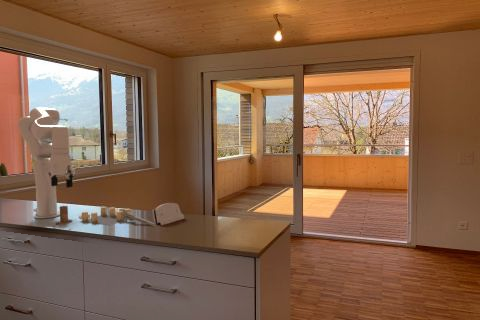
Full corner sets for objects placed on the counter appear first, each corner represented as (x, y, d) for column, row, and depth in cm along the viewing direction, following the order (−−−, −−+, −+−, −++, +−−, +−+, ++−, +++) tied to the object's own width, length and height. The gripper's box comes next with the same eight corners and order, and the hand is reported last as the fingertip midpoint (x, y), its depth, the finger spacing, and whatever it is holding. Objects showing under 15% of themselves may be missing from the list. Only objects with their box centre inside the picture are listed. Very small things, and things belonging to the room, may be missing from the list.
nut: (76, 219, 187) (76, 215, 187) (85, 217, 193) (84, 213, 192) (83, 220, 185) (83, 216, 185) (92, 217, 191) (92, 214, 191)
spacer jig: (78, 223, 179) (77, 213, 178) (104, 215, 195) (103, 206, 195) (110, 226, 171) (109, 216, 171) (134, 218, 188) (134, 208, 188)
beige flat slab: (161, 225, 173) (155, 205, 174) (154, 227, 176) (149, 207, 177) (185, 218, 187) (179, 199, 188) (178, 220, 189) (173, 201, 191)
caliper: (121, 221, 180) (121, 209, 179) (122, 221, 181) (122, 209, 180) (155, 226, 172) (155, 214, 171) (156, 226, 173) (156, 213, 172)
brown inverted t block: (56, 225, 174) (55, 207, 173) (67, 222, 181) (66, 204, 180) (61, 226, 173) (60, 207, 172) (72, 222, 180) (71, 205, 179)
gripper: (40, 151, 174) (42, 186, 175) (67, 152, 167) (69, 188, 169) (53, 150, 181) (55, 184, 182) (80, 151, 174) (81, 186, 176)
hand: (62, 186), depth 176 cm, fingers open, 9 cm apart
